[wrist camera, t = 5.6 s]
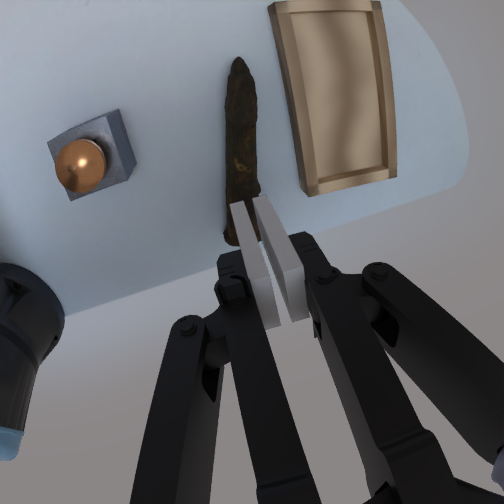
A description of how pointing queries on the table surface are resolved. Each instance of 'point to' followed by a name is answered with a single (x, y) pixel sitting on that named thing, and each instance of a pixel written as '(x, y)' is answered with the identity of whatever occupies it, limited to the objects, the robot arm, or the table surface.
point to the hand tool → (241, 146)
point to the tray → (337, 91)
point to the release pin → (80, 165)
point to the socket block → (109, 140)
